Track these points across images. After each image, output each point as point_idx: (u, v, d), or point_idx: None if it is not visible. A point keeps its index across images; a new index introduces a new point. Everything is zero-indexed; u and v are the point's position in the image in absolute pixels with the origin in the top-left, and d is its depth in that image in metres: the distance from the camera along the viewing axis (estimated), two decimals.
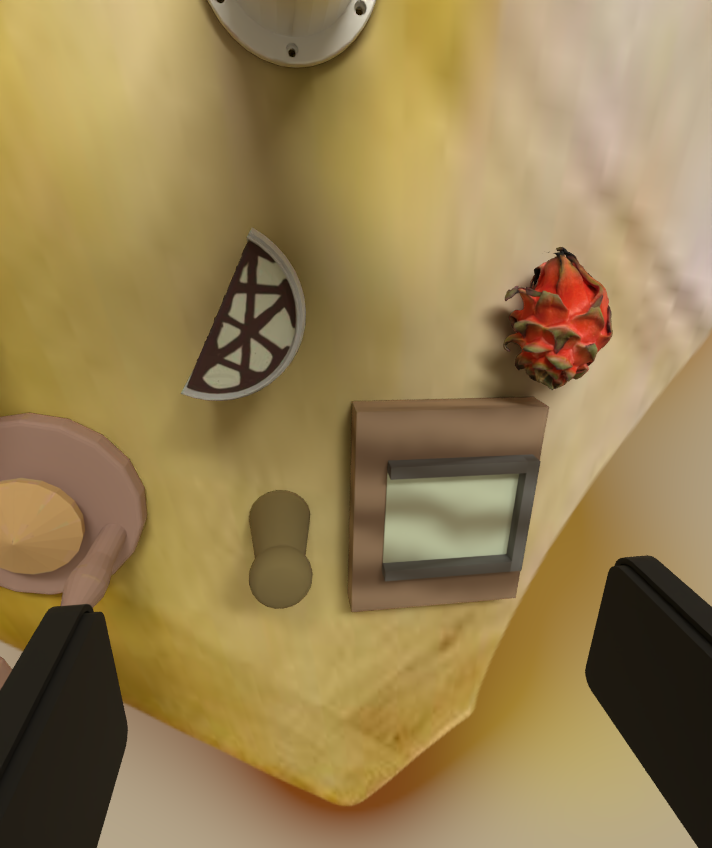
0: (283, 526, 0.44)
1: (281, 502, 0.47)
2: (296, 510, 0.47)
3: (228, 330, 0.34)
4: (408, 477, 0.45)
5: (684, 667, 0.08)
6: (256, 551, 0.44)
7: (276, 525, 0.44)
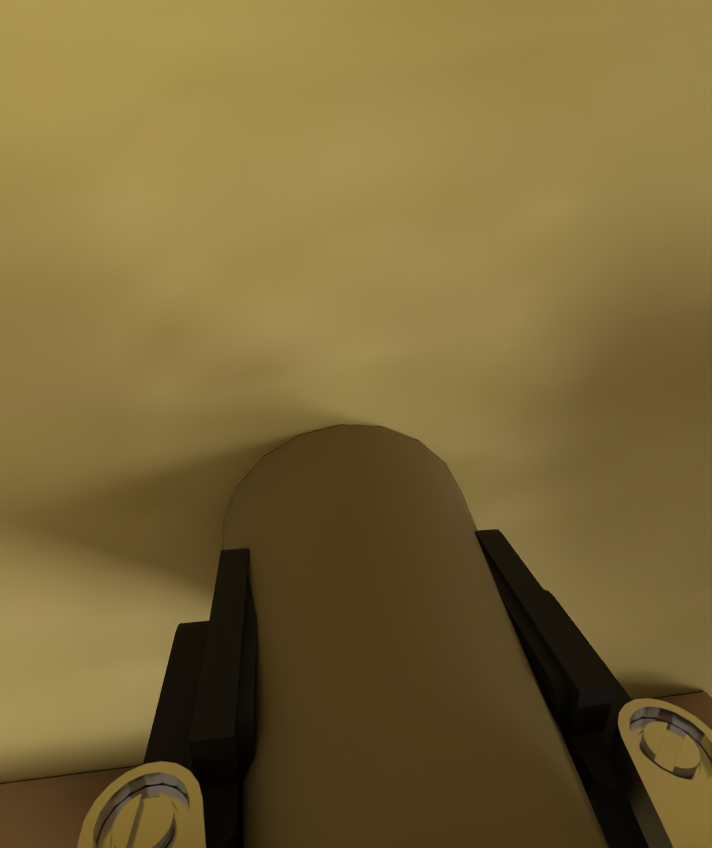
0: None
1: None
2: None
3: None
4: None
5: None
6: (484, 706, 0.06)
7: None
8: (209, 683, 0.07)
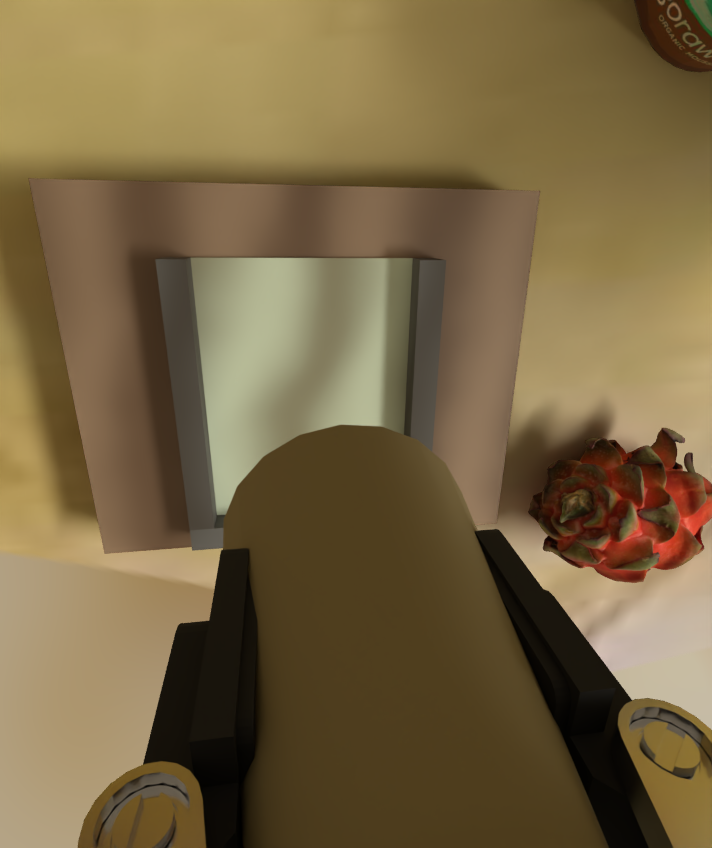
0: None
1: None
2: None
3: None
4: (421, 297, 0.23)
5: None
6: (484, 705, 0.06)
7: None
8: (209, 683, 0.07)
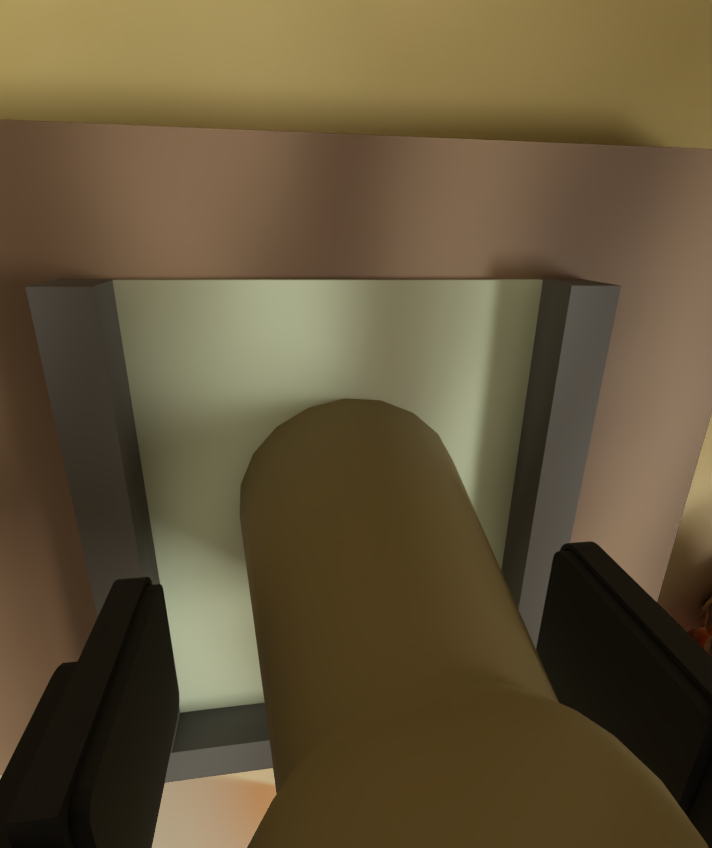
0: None
1: None
2: None
3: None
4: (565, 357, 0.12)
5: (613, 644, 0.08)
6: (464, 603, 0.07)
7: None
8: (50, 746, 0.06)
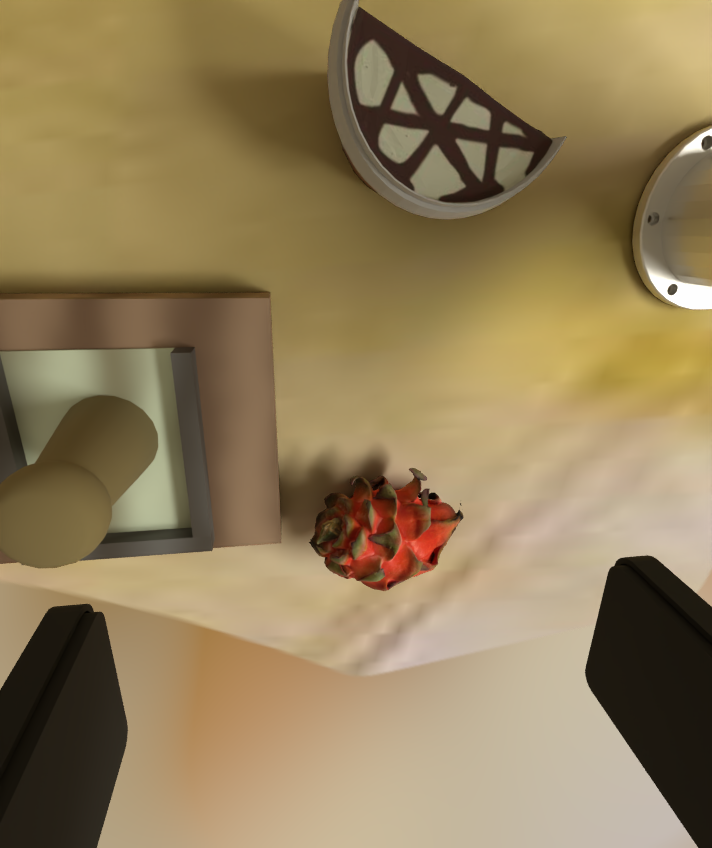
0: (125, 479, 0.28)
1: (148, 451, 0.32)
2: (138, 476, 0.31)
3: (444, 94, 0.23)
4: (175, 379, 0.31)
5: (684, 667, 0.08)
6: (79, 451, 0.26)
7: (125, 468, 0.28)
8: None
